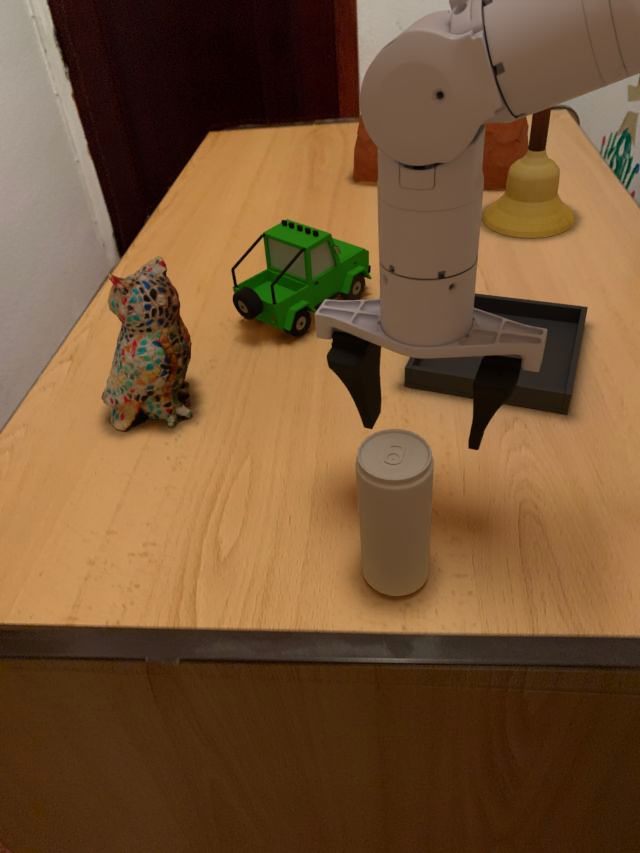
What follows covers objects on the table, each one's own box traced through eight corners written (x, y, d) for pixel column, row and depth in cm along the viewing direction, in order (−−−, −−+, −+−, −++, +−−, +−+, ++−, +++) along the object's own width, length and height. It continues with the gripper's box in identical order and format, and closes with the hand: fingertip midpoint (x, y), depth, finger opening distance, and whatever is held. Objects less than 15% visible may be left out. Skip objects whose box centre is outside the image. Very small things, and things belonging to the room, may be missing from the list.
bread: (371, 151, 115) (369, 85, 108) (530, 155, 107) (539, 84, 100) (346, 186, 104) (342, 115, 97) (521, 193, 96) (530, 117, 89)
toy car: (377, 290, 78) (375, 209, 72) (274, 357, 70) (260, 272, 63) (326, 271, 83) (319, 193, 77) (223, 331, 74) (205, 250, 68)
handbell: (592, 230, 86) (636, 5, 69) (500, 243, 85) (524, 20, 68) (552, 194, 95) (583, -11, 79) (469, 206, 94) (483, 2, 78)
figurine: (136, 375, 69) (92, 243, 59) (216, 381, 67) (184, 245, 57) (99, 429, 63) (43, 290, 53) (185, 437, 61) (144, 295, 51)
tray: (583, 325, 69) (588, 306, 68) (567, 414, 59) (571, 394, 58) (442, 307, 74) (443, 289, 73) (404, 386, 64) (404, 367, 63)
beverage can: (355, 593, 47) (345, 475, 39) (371, 541, 50) (365, 422, 42) (422, 606, 45) (426, 487, 38) (434, 552, 49) (440, 432, 41)
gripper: (565, 238, 39) (534, 413, 48) (336, 217, 43) (347, 380, 52) (550, 297, 34) (518, 480, 43) (294, 267, 39) (314, 437, 48)
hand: (422, 430), depth 47 cm, fingers open, 7 cm apart
